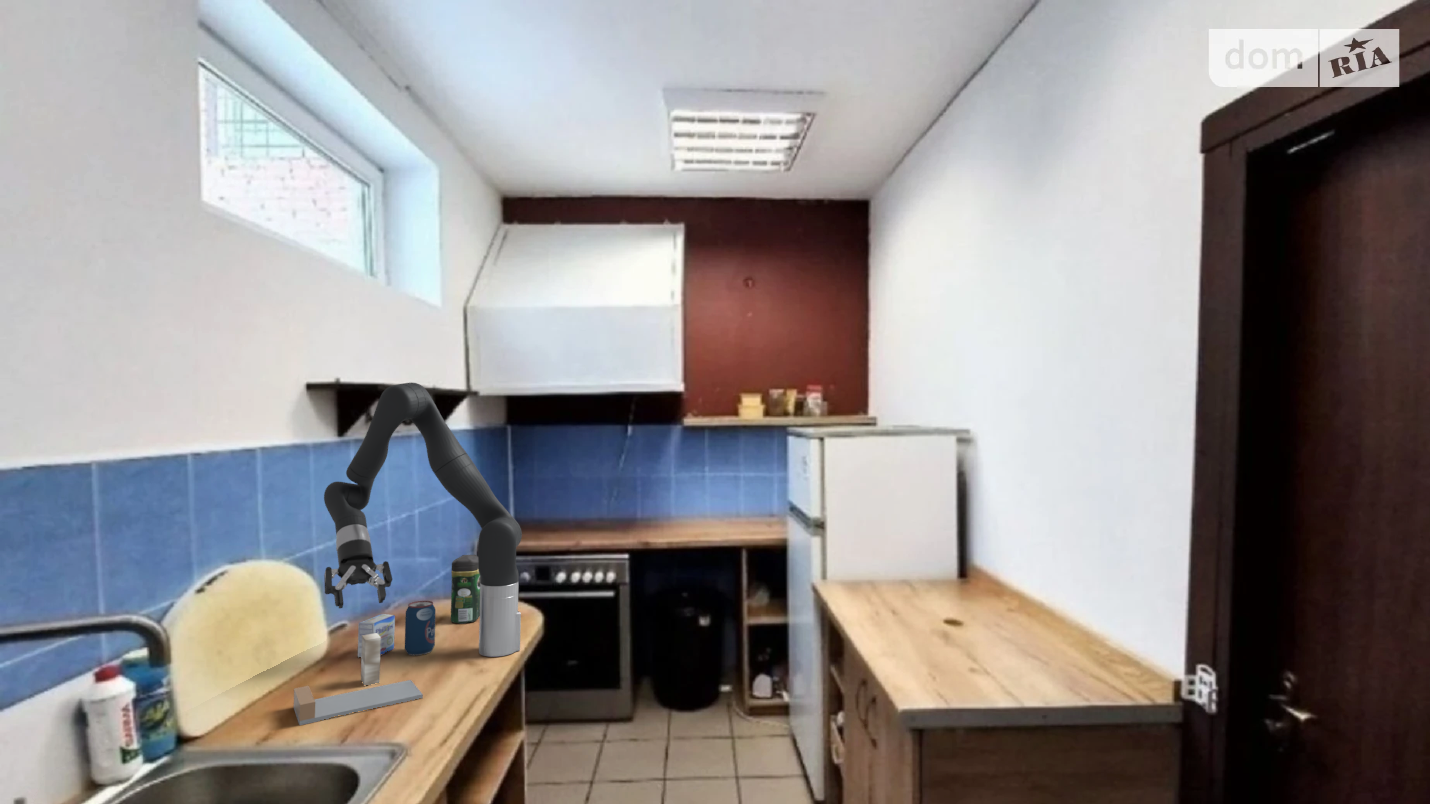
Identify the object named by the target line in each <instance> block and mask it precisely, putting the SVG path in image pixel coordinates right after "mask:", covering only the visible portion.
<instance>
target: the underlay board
mask: <svg viewBox="0 0 1430 804" xmlns="http://www.w3.org/2000/svg"><path fill="white" fill-rule="evenodd" d="M423 695H424V694H423V692H422V691H420V689H419V688H418V687H417V685H416V684H415V683H414V682H413V680H412V679H407V680H402V681H398V682H393V683H388V684H383V685H379V686H373V687H369V688H363V689H360V690H354V691H349V692H344V693H340V694H333V695H330V696H324V697H320V698H315V697H314V695H313V693H312V690H311V688H310V686H309V685H305V686H299V687H295V688H293V710H294V712H295V716H296V719H297V723H298V725H299V726H303V725H308V724H311V723H317V722H321V721H320V720H322V721H325V720H324V719H326V720H330V719H329V718H331V717H334V716H338V715H344V716H347V715H346V714H349V713H352V712H358V711H363V710H367V709H372V710H374V709H373V708H376V709H378V708H377V707H381V708H383V707H382V706H385V707H387V706H386V705H390V706H394V705H397V704H396V703H399V704H402V703H401V702H403V703H407V701H408V702H411V701H410V700H412V701H415V699H417V700H420V699H419V698H421V699H423V698H424V696H423ZM393 704H394V705H393ZM367 711H368V710H367ZM363 712H364V711H363ZM358 713H359V712H358ZM349 715H350V714H349ZM331 719H332V718H331Z"/></svg>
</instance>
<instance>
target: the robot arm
mask: <svg viewBox="0 0 1430 804" xmlns="http://www.w3.org/2000/svg"><path fill="white" fill-rule="evenodd" d="M408 420H410V421H411V422H412V423H413V424H414V425H415V426H416V428H417V429H418V431H419V433H420V434H421V435H422V437H423V439H424V443H425V446H426V447H425V448H426V454H427V461H428V464H429V466H430V469H431V471H432V473H433V474H434V476H435V477H436V478H437V480H438V481H439V483H440V484H441V485H442V487H443V488H444V489H445V490H446V491H447V493H449V494H450V495H451V496H452V497H453V498H454V499H455V500H456V501H458V503H460V504H461V505H462V506H464V507H465V508H466V509H467V510H468V511H469V512H470V513H471V514H472V516H473V517H474V518H475V520H476V521H477V523H478V525H479V527H480V528H481V530H480V533H479V536H478V542H477V543H478V545H477V546H478V548H477V551H478V552H477V553H478V554H477V556H478V569H479V574H480V616H479V621H478V623H479V624H478V625H479V627H478V629H479V630H478V633H479V634H478V635H479V636H478V653H479V655H481V656H484V657H492V658H493V657H503V656H508V655H511V654H513V653H514V654H515V652H518V651H520V650H521V621H522V619H521V618H522V614H521V612H520V611H519V579H520V578H519V569H518V568H517V547H518V546H519V545H520V543H521V542H522V537H523V533H522V528H521V525H520V524H519V523H518V521H517V520H516V519H515V518H514V517H513V515H512V514H511V513H510V512H509V511H508V510H507V508H506V507H505V506H504V505H503V504H502V503H501V502H500V501H499V499H498V498H497V497H496V496H495V494H494V492H493V491H492V489H491V487H490V486H489V484H488V482H487V481H486V479H485V478H484V477H483V475H482V473H481V472H480V471H479V469H478V468H477V466H476V464H475V463H474V461H473V460H472V458H471V457H470V455H469V454H468V453H467V451H466V450H465V449H464V448H463V446H462V445H461V444H460V441H458V439H457V437H456V436H455V435H454V433H453V431H452V430H451V428H450V426H448V424H447V422H446V421H445V420H444V418H443V416H442V415H441V413H440V410H439V409H438V407H437V405H436V404H435V401H434V400H433V398H432V396H431V394H430V393H429V392H428V390H427V389H426V388H425V387H424V386H423V385H421V384H419V383H417V382H405V383H398V384H394V385H390V386H388V387H387V388H385V389H384V391H383V392H382V393H381V395H380V397H379V399H378V403H377V405H376V407H375V411H374V413H373V416H372V419H371V421H370V424H369V426H368V428H367V431H366V434H365V436H364V438H363V441H362V442H361V445H359V448H358V449H357V451H356V453H355V454H354V456H353V458H352V459H351V462H350V463H349V465H348V467H347V469H346V472H345V474H346V477H347V479H348V480H349V481H351V482H353V483H351V482H345V481H333V482H331V483H329V484H328V485H327V487H326V488H325V490H324V494H323V502H324V504H325V508H326V509H327V511H328V513H329V515H330V517H331V519H332V521H333V523H334V526H335V533H336V536H335V539H336V540H335V546H336V548H335V549H336V553H337V561H338V568H332V567H331V566H327V567H326V568H325V571H324V575H323V576H324V582H323V583H324V594H325V595H330V594H331V595H333V597H334V606H336V607H338V609H343V608H344V595H343V590H345V588H346V587H348V585H351V586H354V585H355V586H356V585H358V584H360V585H364V584H366V583H367V584H369V585H370V586H371V587H372V586H373V587H374V588H375V589H376V592H377V598H378V604H382V603H383V602H384V601H385V600H386V596H387V593H386V592H387V590H386V588H390V587H391V585H392V582H393V575H392V571H391V569H390V564H389V561H387V560H385V561H383V563H378V564H376V562H374V555H373V549H372V542H371V536H370V534H369V530H368V524H367V519H366V518H367V517H366V515H365V512H363V511H362V510H364V509H365V508H366V507H367V506H368V504H369V502H370V498H371V492H372V488H373V485H374V482H375V480H376V478H377V475H378V474H379V473H380V471H381V469H382V467H384V464H385V462H386V459H387V457H388V455H389V454H388V453H389V444H390V440H391V438H392V436H393V434H394V432H395V431H396V430H397V428H398V427H400V425H401V424H402V423H403V422H404V421H408ZM376 571H378V572H379V573H380V574H382V578H383V579H382V578H381V577H380V576H379V574H378V573H377V572H376ZM336 575H338V577H339V578H340V580H339V582H338V583H337V584H336V585H333V579H334V578H335V576H336Z"/></svg>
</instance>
